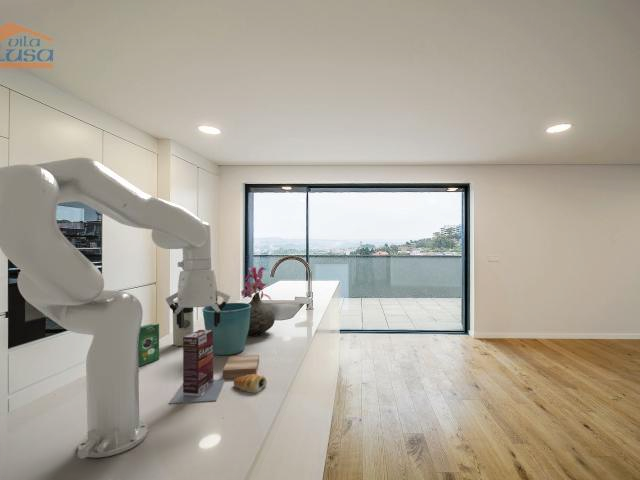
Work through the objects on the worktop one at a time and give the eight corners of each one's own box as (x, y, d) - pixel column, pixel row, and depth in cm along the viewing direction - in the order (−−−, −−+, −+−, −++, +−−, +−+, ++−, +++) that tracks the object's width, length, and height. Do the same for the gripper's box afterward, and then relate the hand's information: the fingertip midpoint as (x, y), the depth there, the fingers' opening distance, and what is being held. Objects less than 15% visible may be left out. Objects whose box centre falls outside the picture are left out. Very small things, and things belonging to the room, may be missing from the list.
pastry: (228, 389, 100) (228, 376, 100) (242, 381, 106) (242, 368, 106) (256, 394, 96) (256, 380, 96) (269, 385, 102) (269, 372, 102)
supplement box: (198, 397, 94) (197, 337, 94) (182, 396, 95) (181, 337, 95) (214, 384, 102) (213, 329, 102) (199, 383, 103) (198, 329, 103)
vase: (230, 337, 153) (228, 268, 153) (249, 327, 170) (248, 265, 170) (265, 340, 149) (263, 269, 149) (281, 329, 165) (280, 265, 165)
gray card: (216, 401, 92) (216, 399, 92) (168, 403, 91) (168, 402, 91) (225, 380, 106) (225, 379, 106) (184, 382, 105) (184, 381, 105)
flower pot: (193, 357, 128) (192, 310, 128) (218, 342, 145) (217, 301, 145) (238, 360, 124) (237, 312, 124) (259, 345, 141) (258, 303, 141)
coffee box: (154, 358, 127) (153, 322, 127) (160, 359, 126) (159, 322, 126) (134, 365, 120) (134, 327, 120) (140, 366, 119) (140, 328, 119)
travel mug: (174, 341, 148) (173, 299, 148) (194, 339, 151) (193, 297, 151) (172, 347, 141) (171, 302, 141) (193, 345, 143) (192, 300, 143)
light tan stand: (256, 376, 108) (255, 368, 108) (222, 378, 107) (222, 370, 107) (259, 362, 121) (259, 354, 121) (229, 363, 120) (229, 356, 120)
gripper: (160, 267, 94) (162, 331, 94) (226, 265, 96) (228, 328, 96) (169, 265, 102) (171, 324, 102) (230, 263, 103) (232, 321, 104)
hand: (199, 326), depth 99 cm, fingers open, 9 cm apart
